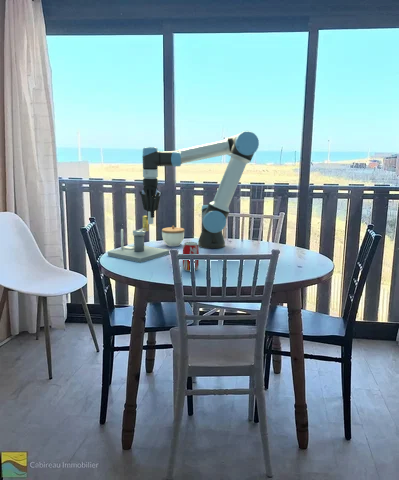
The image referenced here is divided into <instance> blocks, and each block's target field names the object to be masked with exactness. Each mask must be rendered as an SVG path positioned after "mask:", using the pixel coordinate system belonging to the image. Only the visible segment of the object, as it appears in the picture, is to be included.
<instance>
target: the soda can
mask: <svg viewBox="0 0 399 480" xmlns="http://www.w3.org/2000/svg"><path fill="white" fill-rule="evenodd" d="M199 248H200V246H198V242H194V241H186V242H184V244H183V247H182V255H183V254H199V255H200V252H199V251H200V250H199ZM199 262H200V260H195V261H194V263H195V271H197V270H198V269H199V264H200V263H199ZM182 269H183V270H185V271H186V272H191V271H190V261H189V260H183V259H182ZM195 271H194V272H195Z"/></svg>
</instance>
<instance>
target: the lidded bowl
mask: <svg viewBox="0 0 399 480" xmlns="http://www.w3.org/2000/svg"><path fill="white" fill-rule="evenodd" d="M161 237H162V240H163V242H164V244H166V246H168V247H179V246H180V245H181V244H182V242H184V237H185V228H182V227H177V226H176V227H175V225H172V226H171V227H164V228H162V229H161Z"/></svg>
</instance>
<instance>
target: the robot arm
mask: <svg viewBox="0 0 399 480" xmlns="http://www.w3.org/2000/svg"><path fill="white" fill-rule="evenodd" d="M259 143H260V142H259V138H258V136H257V135H256V133H254V132H252V131H251V130H243V131H241V132H239V133H238V134H235V135H232V136H230V137H229V136H228V137H226V138H224V140H219V141H215V142H210V143H205V144H201V145H195V146H191V147H186V148H181V149H177V150H176V149H175V150H171V151H163V150H162V151H161V150H160V151H159V149H158V147H156V146H145V147H143V149H142V157H141V158H142V177H143V179H142V185H143V188H142V190H140V191H139V195H140V196H141V202H142V206H143V210H145V211H146V216H147V217H148V225H153V224H154V218H155V212H157V211H158V209H159V205H160V199H161V196H162V192H160V191H159V189H158V186H159V181H158V180H159V179H158V177H159V171H158V170H159V169H158V167H174V168H176V167H181V166H182V164H187V163H191V162H196V161H202V160H207V159H211V158H216V157H220V156H222V157H223V156H225V155H227V156H229V157H230V159H229V161H228V164H227V166H226V169H225V170H224V174H223V176H222V178H221V181H220V183H219V186H218V189H217V191H216V193H215V196H214V198H213V199H212V201H210V202H209V203H208V204H203V205H202V206H201V210H200V211H201V230H200V231H201V232H200V235H199V239H198V242H197V245H198V247H199V248H206V249H221V248H224V247H226V241H225V238H224V233H223V231H224V229H225V227H226V225H227V219H228V216H229V215H230V209H229V206H230V205H231V202H232V199H233V197H234V195H235V193H236V189H237V187H238V184H239V183H240V180H241V178H242V175H243V174H244V173H243V172H244V171H245V168H246V165H247V164H248V163H251V162H252V159H253V157H254V154H255V153H256V152H257V151H258V148H259V145H260V144H259Z"/></svg>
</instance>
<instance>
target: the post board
mask: <svg viewBox="0 0 399 480" xmlns="http://www.w3.org/2000/svg"><path fill="white" fill-rule="evenodd" d="M124 245H125V244H124V229H123V228H121V229H120V248H119V249H115V250H110V251H107V256H108V257H112V258H118V259H122V260H127V261H131V262H135V263H144V262H147V261H151V260H153V259H158V258H160V257H164V255H165V256H167V255H170V254H169V250H170V249H165V248H159V247H154V246H150V245H145V235H144V236H134V235H133V245H129V246H127V245H126V246H124Z"/></svg>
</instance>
